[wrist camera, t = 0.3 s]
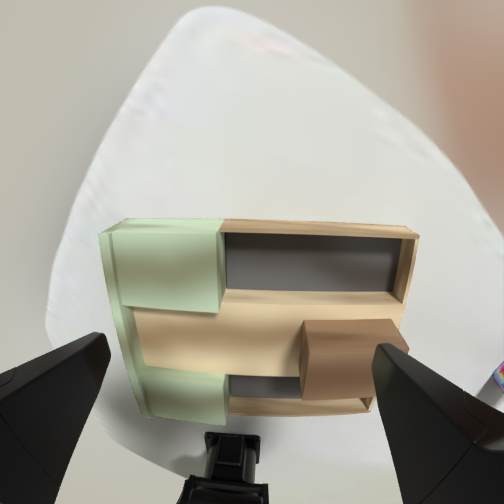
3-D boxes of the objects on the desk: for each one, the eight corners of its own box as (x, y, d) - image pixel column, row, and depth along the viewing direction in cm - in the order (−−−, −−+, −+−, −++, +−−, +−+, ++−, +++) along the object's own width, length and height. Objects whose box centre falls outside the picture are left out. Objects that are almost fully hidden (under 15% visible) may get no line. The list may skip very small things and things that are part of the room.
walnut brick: (378, 362, 23) (391, 394, 19) (298, 365, 23) (302, 400, 19) (391, 318, 21) (409, 348, 17) (304, 319, 22) (309, 353, 18)
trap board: (364, 395, 27) (374, 426, 23) (155, 387, 28) (142, 417, 24) (405, 226, 21) (432, 244, 17) (126, 218, 22) (98, 234, 18)
